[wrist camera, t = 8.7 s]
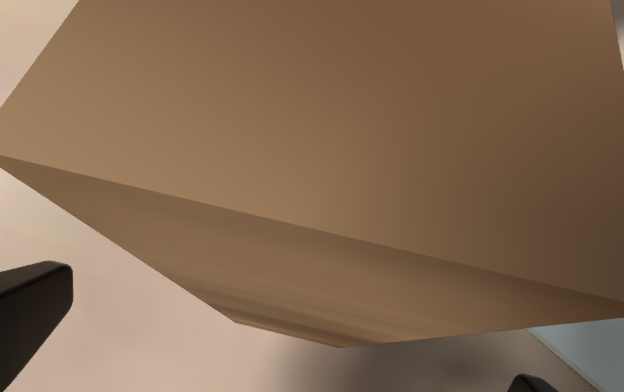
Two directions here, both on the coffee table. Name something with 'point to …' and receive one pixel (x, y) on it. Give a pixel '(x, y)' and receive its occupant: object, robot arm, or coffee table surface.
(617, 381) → the crate
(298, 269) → the walnut block
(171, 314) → the coffee table surface
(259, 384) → the coffee table surface
